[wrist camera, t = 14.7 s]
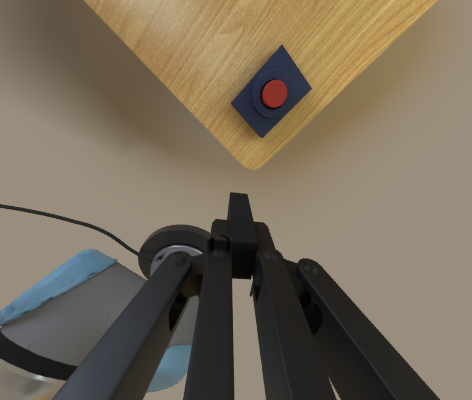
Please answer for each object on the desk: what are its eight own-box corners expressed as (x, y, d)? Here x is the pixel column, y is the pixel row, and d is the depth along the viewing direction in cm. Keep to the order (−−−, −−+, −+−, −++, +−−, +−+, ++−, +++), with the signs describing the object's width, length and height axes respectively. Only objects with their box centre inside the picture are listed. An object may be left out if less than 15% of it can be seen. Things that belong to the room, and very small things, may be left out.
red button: (271, 112, 29) (273, 112, 27) (257, 95, 28) (258, 93, 26) (288, 95, 28) (292, 94, 26) (274, 75, 27) (277, 73, 25)
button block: (260, 136, 34) (263, 139, 30) (230, 103, 31) (230, 102, 28) (306, 90, 31) (316, 87, 27) (278, 48, 28) (285, 39, 25)
